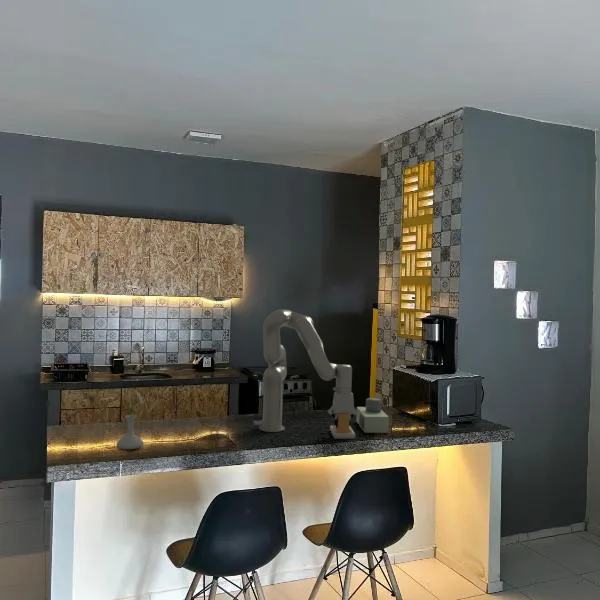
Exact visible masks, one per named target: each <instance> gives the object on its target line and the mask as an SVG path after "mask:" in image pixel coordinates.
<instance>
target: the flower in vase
mask: <svg viewBox="0 0 600 600" xmlns="http://www.w3.org/2000/svg"><path fill="white" fill-rule="evenodd" d="M133 392H134V396H135V399H134V401H133V403H132V406H131V408H129V409H128V411H127V413H130V414H126V415H124V417H125V419H126V422H127V432H126V433H125V435H123V437H121V438H120V439H119V440H118V441H117V442H116V447H117V448H119V449H121V450H135V449H139V448H141V447H143V446H144V444H145V443H144V441H143V440H142V438H140V437H139V436H138V435H136V434H135V432H134V425H135V424H134V423H135V420H136V418H137V415H136V414H133V413H134V412H137V410H138V409H137V407H136V406H135V402H136V401H137V402H138V403H139V405H141V406H144V404H145V402H144V399H143V397H142V395H141V393H140V392H138V388H137V389H136V388H135V389H134V391H133Z"/></svg>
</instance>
